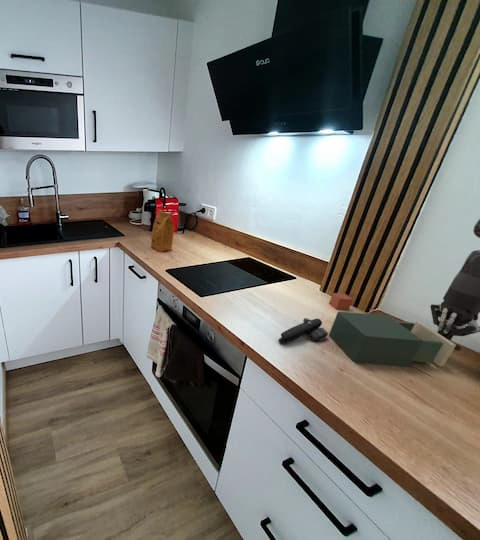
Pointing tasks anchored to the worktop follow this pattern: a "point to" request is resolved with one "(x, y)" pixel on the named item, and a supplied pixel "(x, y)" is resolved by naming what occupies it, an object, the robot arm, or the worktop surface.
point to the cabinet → (374, 339)
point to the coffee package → (162, 232)
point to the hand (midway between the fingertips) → (440, 342)
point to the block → (340, 301)
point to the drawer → (431, 344)
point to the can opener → (304, 331)
